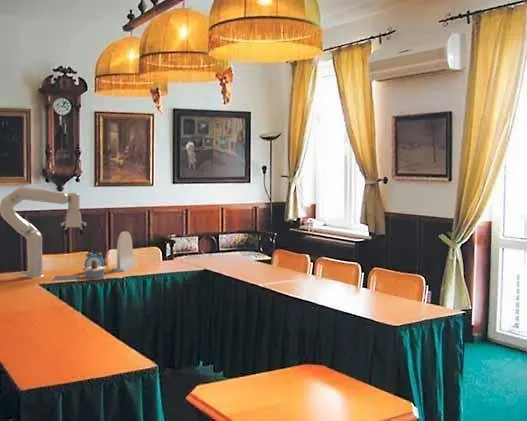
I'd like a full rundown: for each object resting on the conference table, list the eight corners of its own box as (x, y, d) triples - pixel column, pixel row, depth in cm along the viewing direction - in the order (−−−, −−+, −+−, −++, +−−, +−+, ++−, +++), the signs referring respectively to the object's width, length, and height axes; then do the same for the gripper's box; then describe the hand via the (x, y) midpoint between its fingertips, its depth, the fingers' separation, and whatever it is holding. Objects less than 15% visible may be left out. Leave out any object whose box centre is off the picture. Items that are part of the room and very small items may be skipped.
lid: (81, 271, 431) (81, 262, 430) (84, 268, 446) (84, 259, 445) (104, 271, 433) (104, 262, 433) (106, 267, 448) (106, 258, 447)
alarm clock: (84, 274, 455) (84, 253, 454) (85, 272, 461) (85, 251, 460) (103, 273, 457) (103, 252, 455) (104, 272, 463) (104, 251, 462)
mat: (52, 281, 426) (52, 280, 426) (55, 277, 442) (55, 275, 442) (79, 281, 429) (79, 279, 429) (81, 276, 446) (81, 275, 446)
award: (126, 265, 494) (126, 229, 492) (137, 265, 492) (137, 229, 490) (112, 271, 466) (111, 233, 464) (123, 272, 465) (123, 233, 463)
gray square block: (86, 280, 431) (86, 271, 431) (84, 277, 442) (84, 268, 442) (105, 279, 436) (105, 270, 436) (102, 276, 447) (101, 267, 447)
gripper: (60, 211, 445) (60, 235, 446) (86, 211, 448) (86, 235, 449) (61, 210, 452) (61, 234, 453) (87, 210, 455) (87, 234, 456)
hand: (73, 235), depth 451 cm, fingers open, 9 cm apart
